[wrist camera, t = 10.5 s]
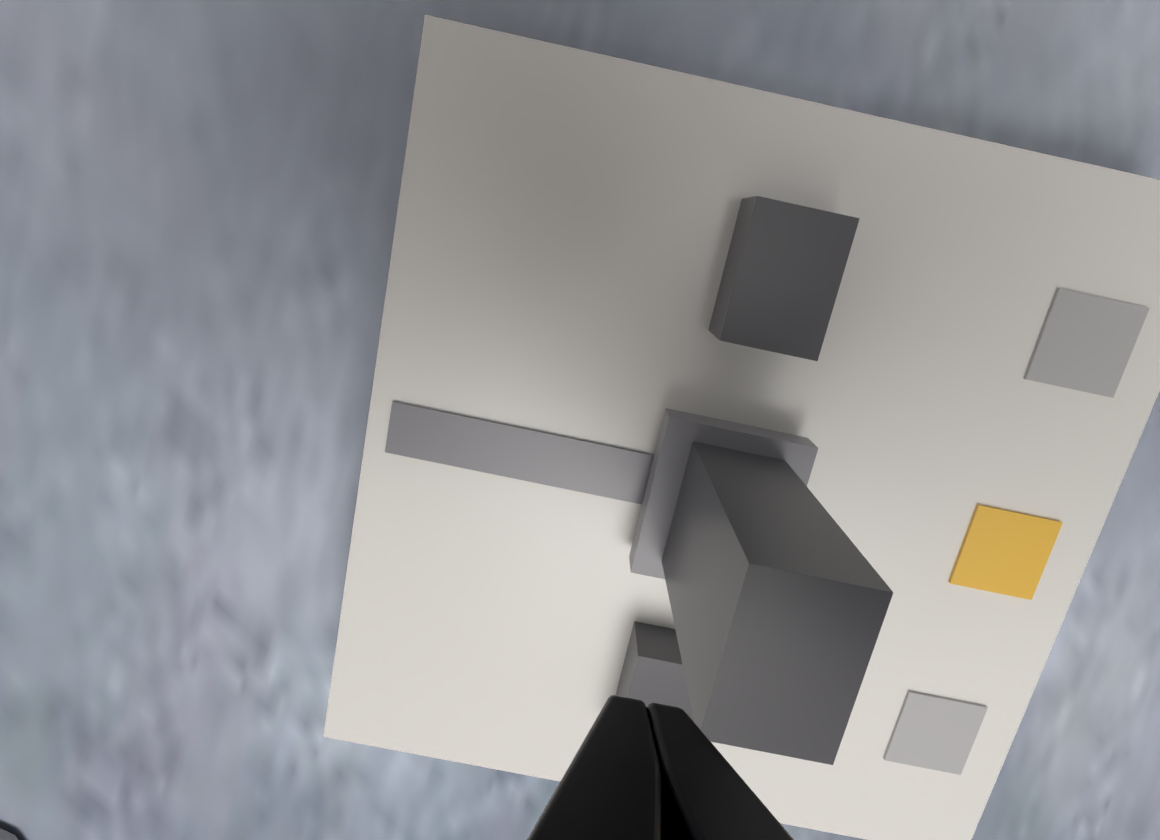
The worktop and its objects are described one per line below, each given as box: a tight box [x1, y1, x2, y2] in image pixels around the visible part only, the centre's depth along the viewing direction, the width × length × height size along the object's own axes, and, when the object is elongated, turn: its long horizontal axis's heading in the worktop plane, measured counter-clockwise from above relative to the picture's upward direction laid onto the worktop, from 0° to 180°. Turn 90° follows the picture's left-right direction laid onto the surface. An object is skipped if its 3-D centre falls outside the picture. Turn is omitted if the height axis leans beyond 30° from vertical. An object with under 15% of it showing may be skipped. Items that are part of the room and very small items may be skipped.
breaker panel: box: [324, 15, 1160, 840], centre depth 18 cm, size 17×17×4 cm
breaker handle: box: [629, 408, 894, 765], centre depth 13 cm, size 3×4×7 cm
